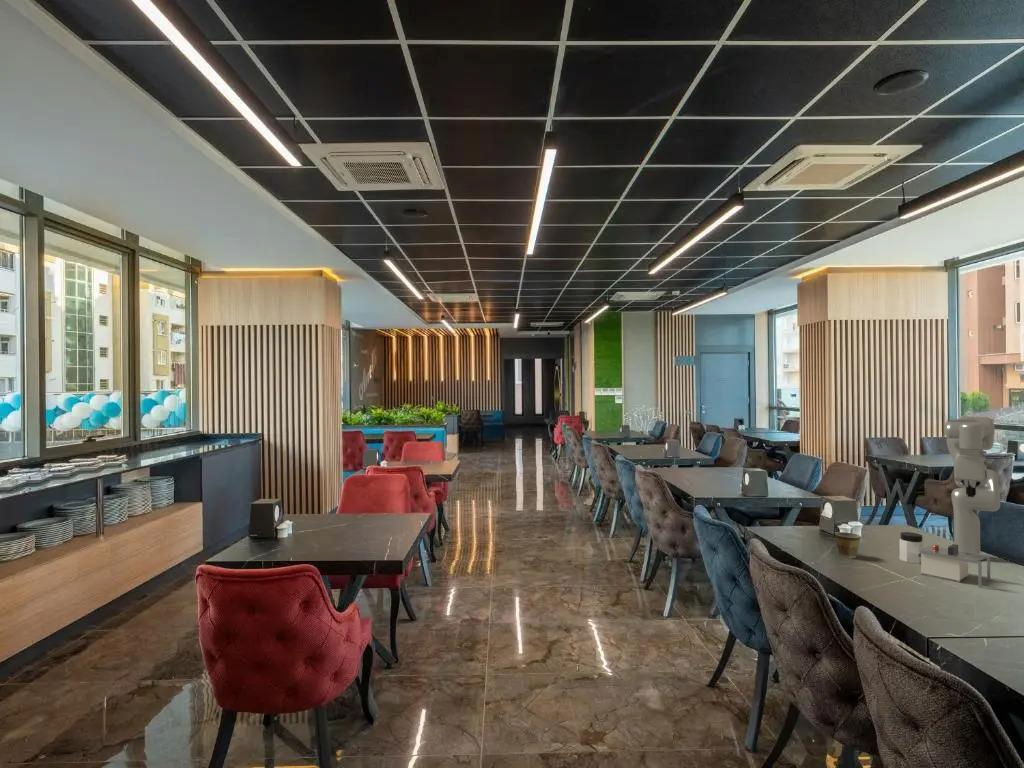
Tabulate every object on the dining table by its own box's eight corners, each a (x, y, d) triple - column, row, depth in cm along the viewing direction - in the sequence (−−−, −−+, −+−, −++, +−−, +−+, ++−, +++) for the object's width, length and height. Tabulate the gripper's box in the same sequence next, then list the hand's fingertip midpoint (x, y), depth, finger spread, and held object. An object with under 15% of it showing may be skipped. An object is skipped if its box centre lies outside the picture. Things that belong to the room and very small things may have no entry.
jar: (917, 564, 257) (917, 537, 257) (896, 560, 263) (896, 533, 264) (926, 561, 261) (926, 534, 262) (906, 557, 268) (905, 531, 268)
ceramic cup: (864, 559, 264) (864, 537, 264) (842, 559, 264) (842, 537, 264) (849, 551, 277) (848, 530, 277) (827, 551, 277) (827, 530, 277)
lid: (930, 548, 250) (930, 539, 250) (967, 554, 240) (967, 545, 240) (921, 552, 243) (921, 543, 243) (959, 559, 233) (959, 550, 233)
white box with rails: (925, 567, 252) (925, 544, 252) (990, 580, 235) (990, 555, 235) (914, 573, 244) (914, 549, 244) (981, 587, 226) (980, 562, 227)
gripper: (995, 453, 242) (995, 498, 242) (951, 450, 254) (952, 493, 253) (990, 455, 237) (991, 500, 237) (946, 452, 249) (946, 495, 249)
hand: (970, 496), depth 245 cm, fingers closed
